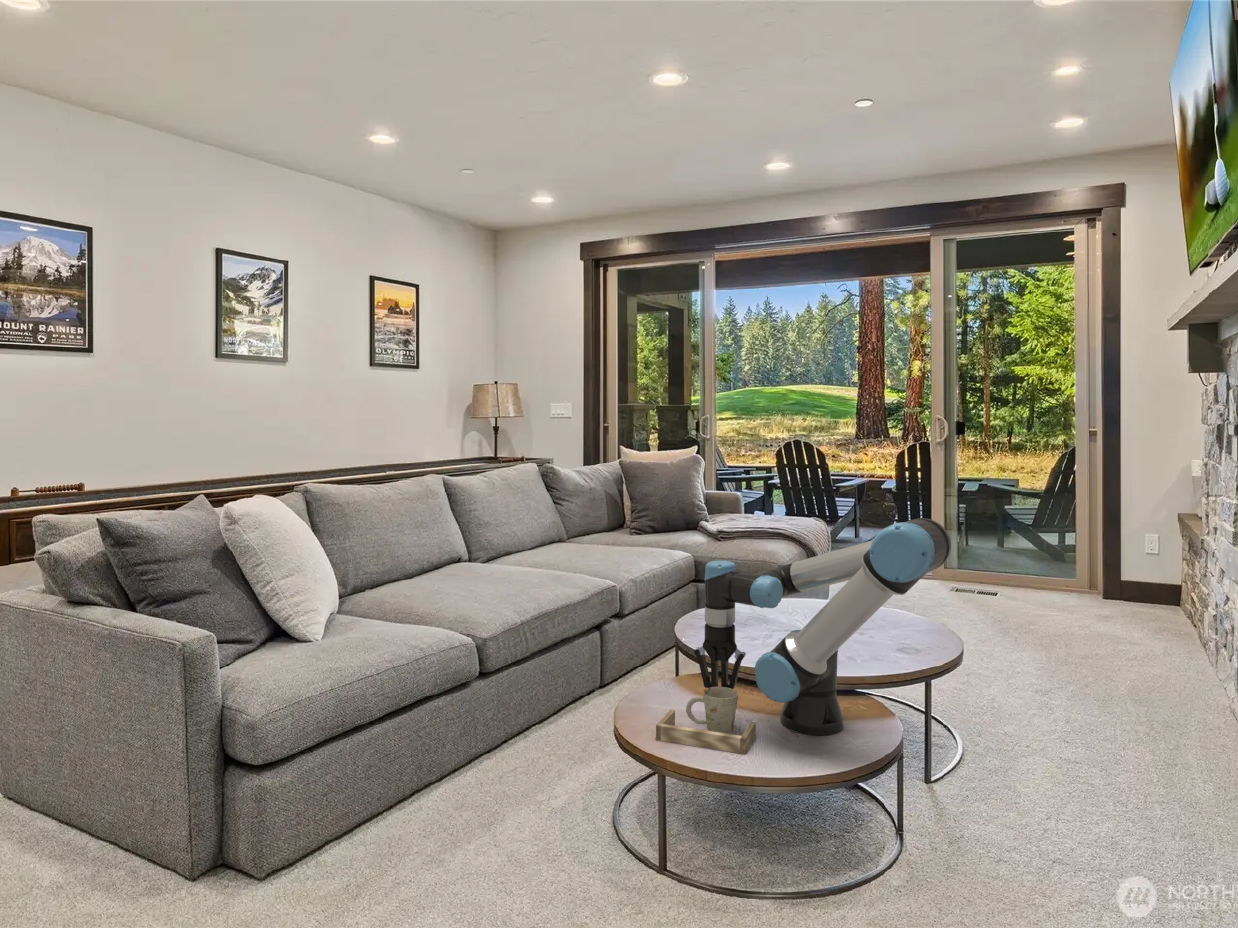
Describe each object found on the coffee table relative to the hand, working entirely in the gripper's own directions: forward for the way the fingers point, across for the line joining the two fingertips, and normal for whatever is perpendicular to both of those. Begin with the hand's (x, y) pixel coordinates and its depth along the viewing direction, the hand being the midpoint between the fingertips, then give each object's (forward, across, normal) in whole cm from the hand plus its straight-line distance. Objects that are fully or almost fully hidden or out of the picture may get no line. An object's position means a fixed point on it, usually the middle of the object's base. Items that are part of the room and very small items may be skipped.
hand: (719, 716), depth 203 cm
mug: (+2, 0, +8) cm, 8 cm away
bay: (+1, 0, +12) cm, 12 cm away
